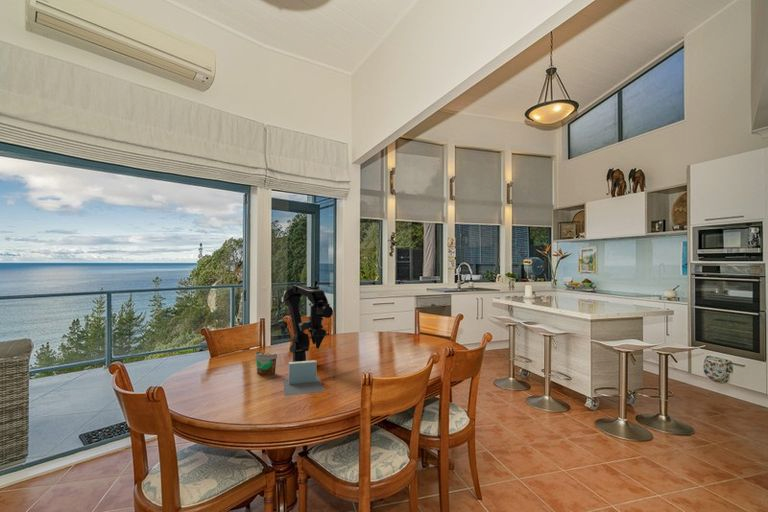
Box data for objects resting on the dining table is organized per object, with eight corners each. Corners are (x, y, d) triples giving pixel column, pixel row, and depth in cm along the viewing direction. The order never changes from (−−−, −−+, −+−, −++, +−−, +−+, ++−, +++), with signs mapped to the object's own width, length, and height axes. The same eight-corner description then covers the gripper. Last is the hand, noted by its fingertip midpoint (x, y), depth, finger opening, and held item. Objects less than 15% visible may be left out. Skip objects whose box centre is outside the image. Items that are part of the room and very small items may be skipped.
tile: (288, 382, 155) (288, 362, 155) (315, 380, 158) (316, 360, 159) (288, 384, 152) (288, 363, 152) (316, 382, 156) (316, 361, 156)
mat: (283, 380, 159) (283, 379, 159) (319, 377, 163) (319, 376, 163) (284, 396, 140) (284, 395, 140) (324, 392, 144) (324, 391, 144)
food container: (248, 374, 167) (249, 353, 167) (258, 370, 172) (259, 350, 173) (267, 378, 161) (267, 356, 161) (277, 374, 167) (277, 353, 167)
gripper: (297, 312, 180) (296, 342, 180) (303, 319, 163) (302, 352, 163) (318, 311, 184) (317, 341, 184) (326, 318, 167) (325, 350, 167)
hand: (315, 346), depth 175 cm, fingers open, 9 cm apart
